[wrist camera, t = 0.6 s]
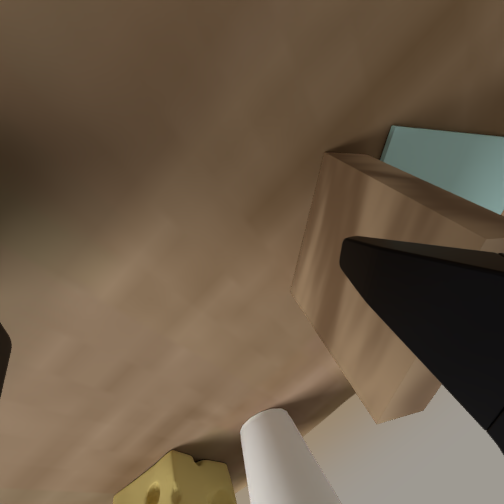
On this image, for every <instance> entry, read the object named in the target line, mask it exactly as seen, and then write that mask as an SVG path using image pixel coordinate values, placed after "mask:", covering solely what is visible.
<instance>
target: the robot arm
mask: <svg viewBox="0 0 504 504" xmlns="http://www.w3.org/2000/svg"><path fill="white" fill-rule="evenodd" d="M339 265H340V268H341V270H342V271H343V273H344V274H345V275H346V277H347V278H348V279H349V281H350V282H351V283H352V285H353V286H354V287H355V289H356V290H357V291H358V293H359V294H360V295H361V297H362V298H363V299H364V301H365V302H366V303H367V304H368V305H369V306H370V307H371V309H372V310H373V311H374V312H375V313H376V314H377V315H378V316H379V317H380V318H381V319H382V320H383V321H384V323H385V324H386V325H387V326H388V327H389V328H390V329H391V330H392V331H393V332H394V333H395V334H396V335H397V336H398V338H399V339H400V340H401V341H402V342H403V343H404V344H405V345H406V346H407V347H408V348H409V349H410V350H411V352H412V353H413V354H414V355H415V356H416V357H417V358H418V359H419V360H420V361H421V362H422V363H423V364H424V365H425V367H426V368H427V369H428V370H429V371H430V372H431V373H432V374H433V375H434V376H435V377H436V378H437V379H438V380H439V382H440V383H441V384H442V385H443V386H444V387H445V388H446V389H447V390H448V391H449V392H450V393H451V394H452V396H453V397H454V398H455V399H456V400H457V401H458V402H459V403H460V404H461V405H462V406H463V407H464V408H465V409H466V411H467V412H468V413H469V414H470V415H471V416H472V417H473V418H474V419H475V420H476V421H477V422H478V423H479V425H480V426H481V427H482V428H483V429H484V430H487V433H488V434H489V435H490V436H491V438H492V439H493V440H494V441H495V443H496V444H497V445H498V447H499V448H500V450H501V451H502V453H503V455H504V253H498V254H497V253H495V252H486V251H478V250H470V249H462V248H454V247H445V246H437V245H429V244H421V243H413V242H404V241H396V240H388V239H380V238H371V237H363V236H352V237H347V238H345V239H344V240H343V242H342V247H341V252H340V258H339ZM11 348H12V344H11V339H10V337H9V335H8V334H7V332H6V331H5V329H4V328H3V326H2V324H1V323H0V397H1V393H2V389H3V384H4V380H5V375H6V371H7V366H8V362H9V358H10V353H11Z"/></svg>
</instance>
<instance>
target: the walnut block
mask: <svg viewBox="0 0 504 504" xmlns="http://www.w3.org/2000/svg"><path fill="white" fill-rule="evenodd" d="M352 236H363V237H371V238H380V239H388V240H396V241H404V242H413V243H421V244H429V245H437V246H445V247H454V248H462V249H470V250H478V251H486V252H495V253H497V254H498V253H504V216H502V215H499V214H497V213H495V212H493V211H491V210H488V209H486V208H484V207H482V206H480V205H477V204H475V203H473V202H471V201H469V200H466V199H464V198H462V197H460V196H457V195H455V194H453V193H451V192H449V191H446V190H444V189H442V188H440V187H438V186H435V185H433V184H431V183H429V182H427V181H424V180H422V179H420V178H418V177H416V176H413V175H411V174H409V173H407V172H404V171H402V170H400V169H398V168H396V167H393V166H391V165H389V164H387V163H385V162H382V161H380V160H378V159H376V158H374V157H371V156H369V155H367V154H350V153H334V152H324V155H323V160H322V164H321V168H320V172H319V176H318V180H317V184H316V188H315V192H314V196H313V200H312V204H311V208H310V212H309V217H308V221H307V225H306V229H305V233H304V237H303V241H302V245H301V249H300V253H299V257H298V261H297V265H296V269H295V274H294V278H293V282H292V286H291V290H290V292H291V294H292V296H293V297H294V299H295V300H296V302H297V303H298V305H299V306H300V308H301V309H302V311H303V312H304V314H305V315H306V317H307V318H308V320H309V322H310V323H311V325H312V326H313V328H314V329H315V331H316V332H317V334H318V335H319V337H320V338H321V340H322V341H323V343H324V345H325V346H326V348H327V349H328V351H329V352H330V354H331V355H332V357H333V358H334V360H335V361H336V363H337V364H338V366H339V368H340V369H341V371H342V372H343V374H344V375H345V377H346V378H347V380H348V381H349V383H350V384H351V386H352V387H353V389H354V390H355V392H356V394H357V395H358V397H359V398H360V399H361V401H362V403H363V404H364V406H365V407H366V409H367V410H368V412H369V413H370V415H371V416H372V418H373V420H374V421H375V423H376V424H380V423H383V422H386V421H389V420H393V419H396V418H400V417H403V416H407V415H410V414H413V413H416V412H420V411H423V410H424V409H425V408H426V406H427V404H428V403H429V402H430V400H431V399H432V398H433V396H434V395H435V393H436V392H437V391H438V389H439V388H440V386H441V385H442V384H441V383H440V382H439V380H438V379H437V378H436V377H435V376H434V375H433V374H432V373H431V372H430V371H429V370H428V369H427V368H426V367H425V365H424V364H423V363H422V362H421V361H420V360H419V359H418V358H417V357H416V356H415V355H414V354H413V353H412V352H411V350H410V349H409V348H408V347H407V346H406V345H405V344H404V343H403V342H402V341H401V340H400V339H399V338H398V336H397V335H396V334H395V333H394V332H393V331H392V330H391V329H390V328H389V327H388V326H387V325H386V324H385V323H384V321H383V320H382V319H381V318H380V317H379V316H378V315H377V314H376V313H375V312H374V311H373V310H372V309H371V307H370V306H369V305H368V304H367V303H366V302H365V301H364V299H363V298H362V297H361V295H360V294H359V293H358V291H357V290H356V289H355V287H354V286H353V285H352V283H351V282H350V281H349V279H348V278H347V277H346V275H345V274H344V273H343V271H342V270H341V268H340V265H339V258H340V252H341V247H342V242H343V240H344V239H345V238H347V237H352Z"/></svg>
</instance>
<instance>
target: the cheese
mask: <svg viewBox="0 0 504 504" xmlns="http://www.w3.org/2000/svg"><path fill="white" fill-rule="evenodd" d="M113 504H237V503H236V498H235V494H234V490H233V485H232V482H231V479H230V475H229V472H228V468H227V465H226V464H225V463H221V462H216V461H211V460H201V461H198V462H196V463H195V462H194V460H193V457H192V456H190V455H187V454H184V453H180V452H177V451H175V450H171V451H170V452H168V453H167V454H166V455H165V456H164V457H162V458H161V459H160V460H159V461H158V462H157V463H156V464H155V465H154V466H152V467H151V468H150V469H149V470H148V471H146V472H145V473H144V474H142V475H141V476H140V477H138V478H137V479H136V480H134V481H133V482H132V483H130V484H129V485H128V486H126V487H125V488H124V489H122V490H121V491H119V492H118V493H117V494H116V495H115V496H114V499H113Z"/></svg>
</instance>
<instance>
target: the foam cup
mask: <svg viewBox="0 0 504 504" xmlns="http://www.w3.org/2000/svg"><path fill="white" fill-rule="evenodd" d="M240 435H241V444H242V450H243V457H244V464H245V470H246V477H247V483H248V489H249V496H250V503H251V504H342V503H341V502H340V500H339V498H338V496H337V495H336V493H335V491H334V490H333V488H332V486H331V485H330V483H329V481H328V480H327V478H326V476H325V474H324V473H323V471H322V469H321V468H320V466H319V464H318V463H317V461H316V459H315V457H314V456H313V454H312V452H311V451H310V449H309V448H308V446H307V444H306V442H305V441H304V439H303V437H302V435H301V434H300V432H299V430H298V429H297V427H296V425H295V423H294V422H293V420H292V418H291V417H290V416H289V414H288V412H287V411H285V410H283V409H281V408H277V409H269V410H265V411H262V412H260V413H258V414H256V415H254V416H253V417H251V418H250V419H249V420H248V421H247V422H246V423H245V424H244V425H243V426H242V428H241V431H240Z"/></svg>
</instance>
